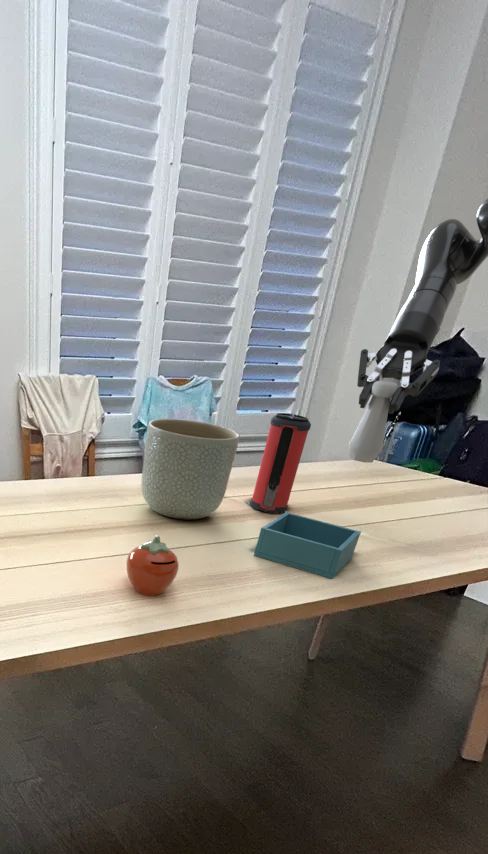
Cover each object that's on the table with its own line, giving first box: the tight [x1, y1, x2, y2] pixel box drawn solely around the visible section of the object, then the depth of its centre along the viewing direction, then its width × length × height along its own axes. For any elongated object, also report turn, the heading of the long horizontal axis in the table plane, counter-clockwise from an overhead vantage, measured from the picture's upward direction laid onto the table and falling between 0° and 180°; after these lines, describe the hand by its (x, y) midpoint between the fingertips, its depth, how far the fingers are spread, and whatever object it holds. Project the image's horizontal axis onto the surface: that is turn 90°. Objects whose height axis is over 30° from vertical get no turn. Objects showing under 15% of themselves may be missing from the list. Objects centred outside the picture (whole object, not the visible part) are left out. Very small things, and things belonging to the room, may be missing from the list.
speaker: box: [249, 412, 312, 515], centre depth 129 cm, size 8×8×18 cm
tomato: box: [126, 535, 180, 597], centre depth 89 cm, size 7×7×8 cm
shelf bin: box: [253, 511, 362, 579], centre depth 109 cm, size 14×14×5 cm
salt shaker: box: [348, 380, 399, 464], centre depth 114 cm, size 6×6×13 cm
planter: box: [140, 418, 241, 521], centre depth 121 cm, size 17×17×15 cm
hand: (376, 407), depth 111 cm, fingers closed on salt shaker, 4 cm apart
